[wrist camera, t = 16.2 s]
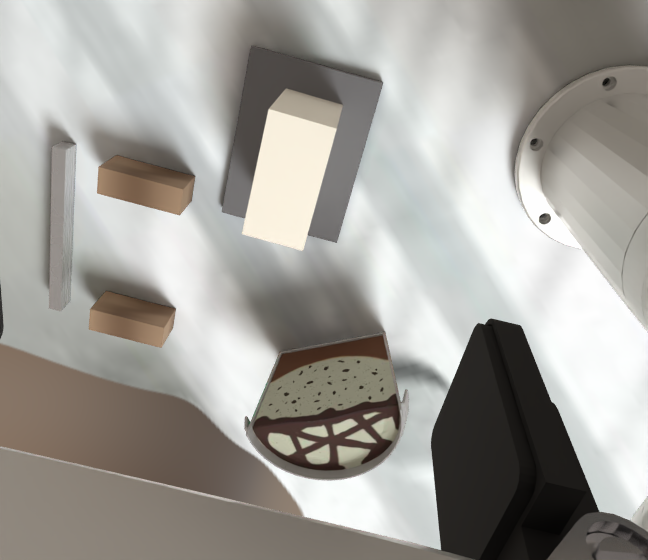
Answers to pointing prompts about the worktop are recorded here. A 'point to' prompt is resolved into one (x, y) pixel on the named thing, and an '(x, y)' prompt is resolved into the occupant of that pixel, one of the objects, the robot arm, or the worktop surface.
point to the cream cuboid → (291, 168)
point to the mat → (350, 138)
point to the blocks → (125, 184)
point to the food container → (330, 409)
